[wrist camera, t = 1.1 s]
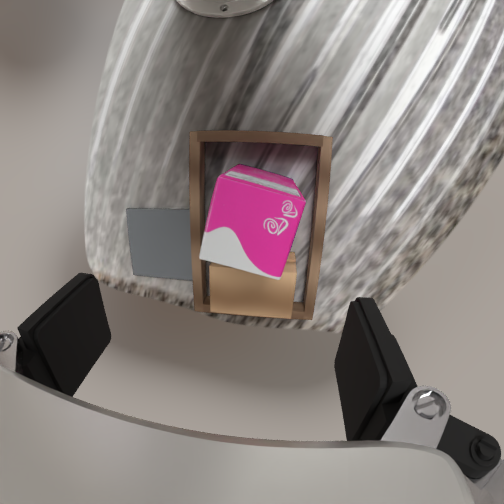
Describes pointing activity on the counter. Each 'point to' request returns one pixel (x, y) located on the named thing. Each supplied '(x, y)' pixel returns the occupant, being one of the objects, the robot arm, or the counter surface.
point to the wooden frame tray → (198, 207)
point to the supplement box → (252, 221)
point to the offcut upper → (252, 292)
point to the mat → (160, 242)
